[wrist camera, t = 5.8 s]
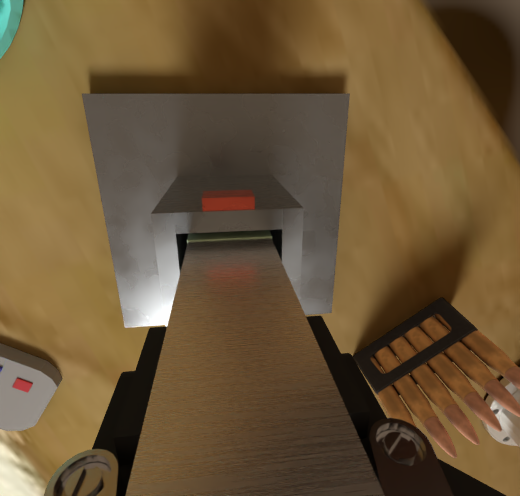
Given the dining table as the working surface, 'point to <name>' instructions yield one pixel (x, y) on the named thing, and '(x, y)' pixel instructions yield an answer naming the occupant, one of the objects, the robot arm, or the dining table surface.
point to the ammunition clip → (438, 372)
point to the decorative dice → (9, 22)
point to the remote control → (24, 388)
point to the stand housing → (217, 185)
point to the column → (244, 387)
